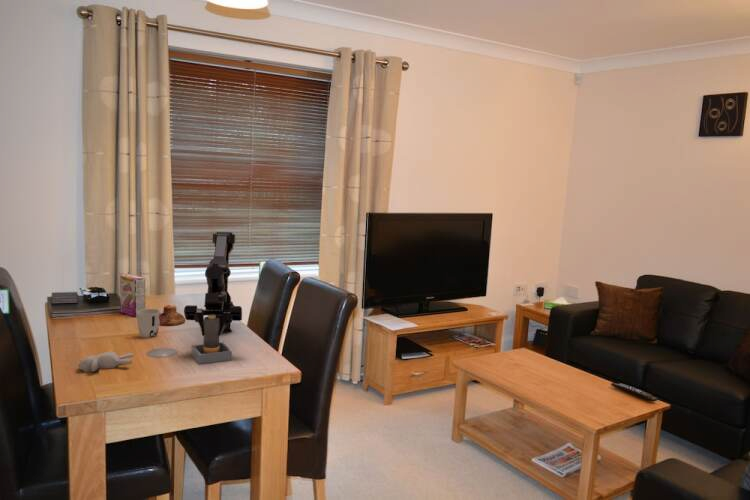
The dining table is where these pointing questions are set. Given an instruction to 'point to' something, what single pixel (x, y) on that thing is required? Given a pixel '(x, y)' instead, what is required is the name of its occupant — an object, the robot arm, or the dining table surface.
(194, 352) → the dish
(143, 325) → the cup
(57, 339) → the dining table surface
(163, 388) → the dining table surface
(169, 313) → the brown rounded piece
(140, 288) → the candy bar box
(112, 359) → the bunny figurine
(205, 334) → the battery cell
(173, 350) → the pad
